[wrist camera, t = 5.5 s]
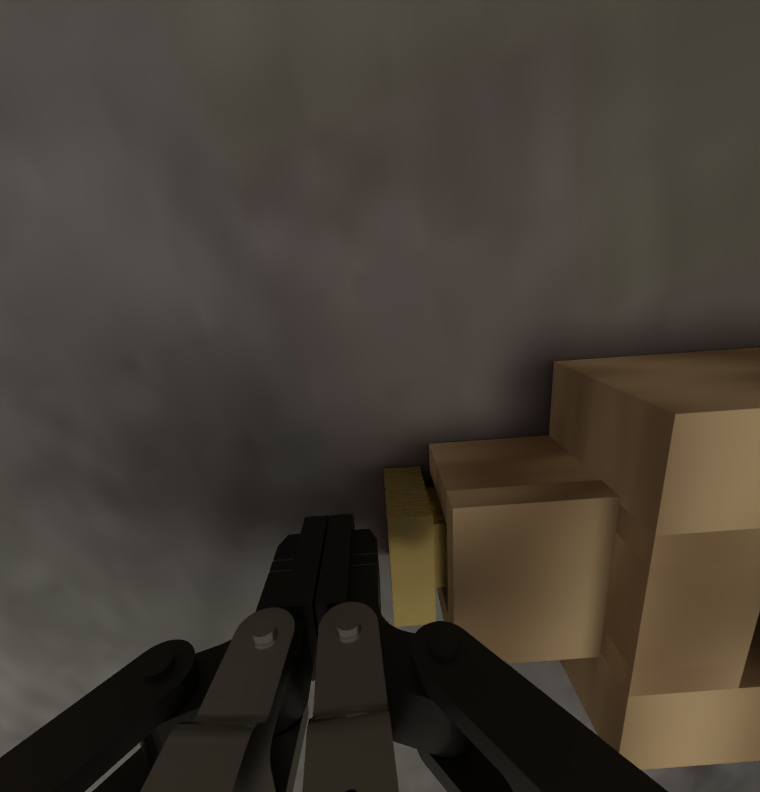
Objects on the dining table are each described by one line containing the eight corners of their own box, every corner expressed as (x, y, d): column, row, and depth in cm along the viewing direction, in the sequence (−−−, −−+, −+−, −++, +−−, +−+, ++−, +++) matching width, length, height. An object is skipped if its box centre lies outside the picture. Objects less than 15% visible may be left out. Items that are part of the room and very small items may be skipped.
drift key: (629, 451, 13) (698, 496, 10) (616, 543, 14) (676, 605, 11) (383, 469, 13) (387, 519, 10) (389, 559, 14) (394, 626, 11)
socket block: (868, 339, 12) (1195, 378, 7) (791, 595, 15) (990, 742, 10) (426, 369, 12) (465, 428, 7) (434, 621, 15) (464, 783, 10)
